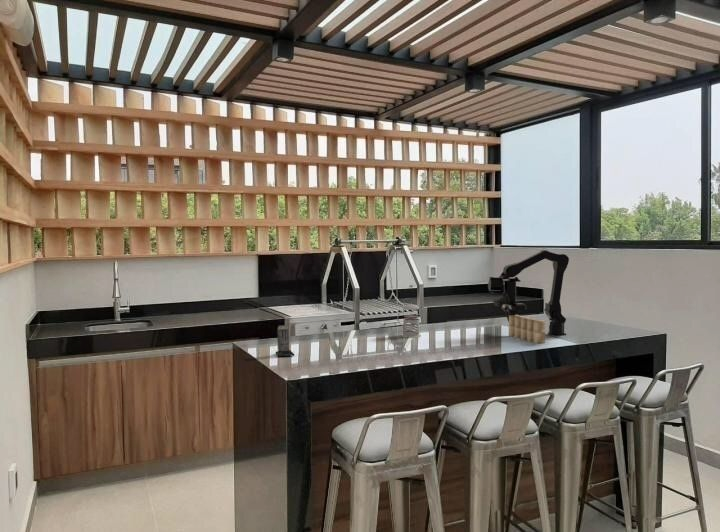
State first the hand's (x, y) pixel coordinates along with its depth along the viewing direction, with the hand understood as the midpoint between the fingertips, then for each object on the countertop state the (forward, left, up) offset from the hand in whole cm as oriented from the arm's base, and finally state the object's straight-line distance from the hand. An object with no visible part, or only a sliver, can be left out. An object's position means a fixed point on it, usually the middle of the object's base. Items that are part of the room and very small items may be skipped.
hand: (509, 322), depth 272 cm
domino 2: (0, +9, -6) cm, 10 cm away
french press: (+48, -13, -6) cm, 50 cm away
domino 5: (0, +23, -6) cm, 24 cm away
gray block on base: (+114, +10, -6) cm, 115 cm away
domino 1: (0, +4, -6) cm, 7 cm away
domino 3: (0, +13, -6) cm, 15 cm away
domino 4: (0, +18, -6) cm, 19 cm away
